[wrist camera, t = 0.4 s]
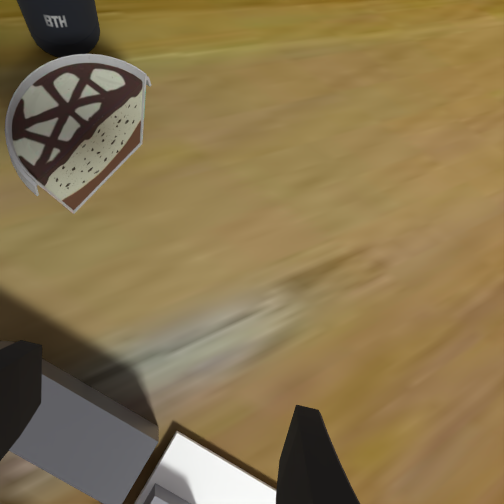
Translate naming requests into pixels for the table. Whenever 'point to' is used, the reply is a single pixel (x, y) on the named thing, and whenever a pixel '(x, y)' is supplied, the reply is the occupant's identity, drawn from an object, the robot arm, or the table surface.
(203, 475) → the stand
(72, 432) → the glasses case
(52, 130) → the food container
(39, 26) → the black bottle
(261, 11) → the table surface
